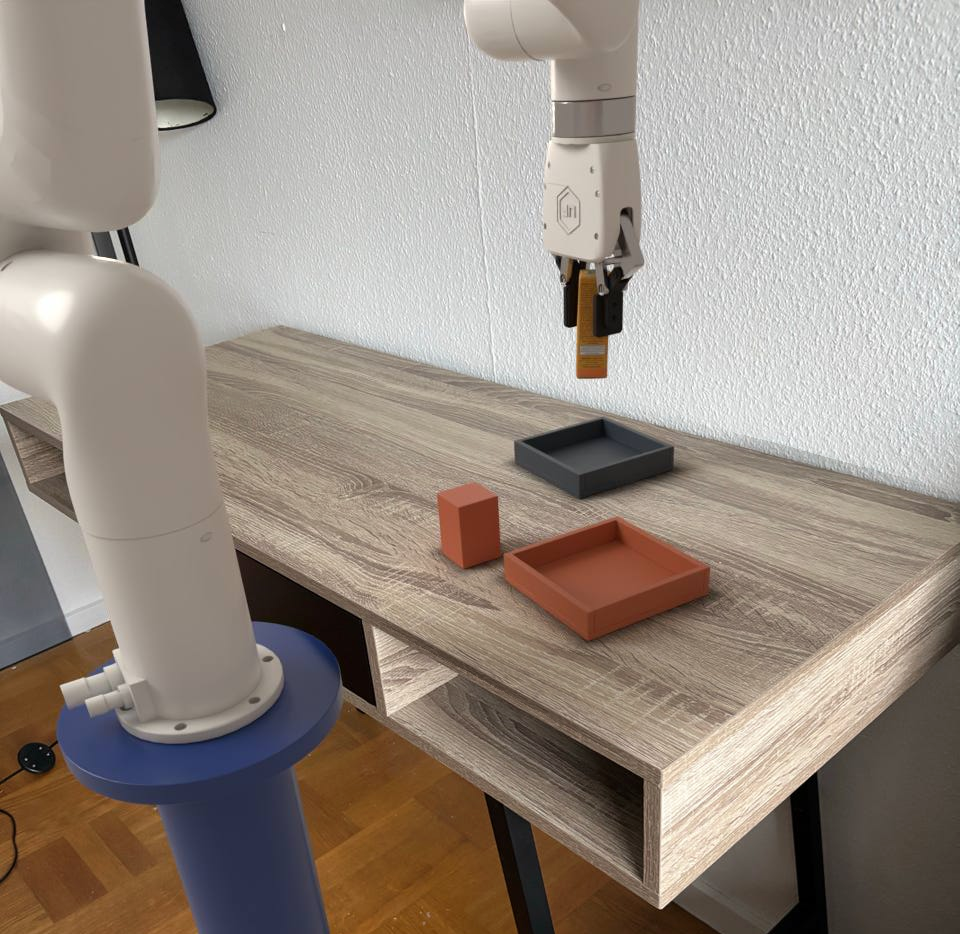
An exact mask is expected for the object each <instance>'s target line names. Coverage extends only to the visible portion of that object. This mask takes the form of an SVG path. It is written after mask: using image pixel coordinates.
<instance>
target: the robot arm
mask: <svg viewBox="0 0 960 934" xmlns="http://www.w3.org/2000/svg"><path fill="white" fill-rule="evenodd" d="M639 10H640V0H463V18H464V23H465V27H466V30H467V33H468V36H469V37H470V39H471V40H472V42H473V43H474V45H475V46H476V47H477V48H478V49H479V50H480V51H481V52H482V53H483V54H485V55H486V56H488V57H490V58H492V59H494V60H497V61H501V62H503V63H504V62H505V63H533V62H535V63H537V62H545V61H549V63H550V65H549V67H550V68H549V69H550V100H551V101H550V112H551V113H550V115H551V116H550V117H551V118H550V121H551V139H550V140H549V141H548V146H547V150H546V151H547V152H546V159H545V166H544V167H545V168H544V178H543V179H544V180H543V197H542V198H543V199H542V201H543V202H542V241H543V246H544V247H545V249H546V250H547V251H548V252H549V253H550V254H551V256H552V257H553V259H554V261H555V264H556V267H557V269H558V271H559V282H560V285H561V286H563V287H562V288H563V289H562V290H563V291H562V293H563V294H562V295H563V298H562V299H563V326H564V327H565V328H567V329H572V328H577V315H578V292H579V273H580V270H583V269H591V264H594V269H595V273H596V282H597V290H598V293H599V294H595V295H593V335H594V336H595V337H598V338H600V337H605V336H612V335H613V336H614V335H617V334H620V333H622V331H623V329H624V328H623V327H624V292H626V291H628V289H629V288H628V287H629V282H630V281H631V280H632V278H633V277H634V275H635V274H636V273H637V272H639V270H640V269H642V268H643V267H644V266H645V257H644V254H643V251H642V249H641V246H640V244H641V236H642V235H641V234H642V185H641V183H642V181H641V169H640V168H641V167H640V158H639V149H638V143H637V138H636V136H637V135H636V132H637V131H636V129H637V92H638V91H637V90H638V88H637V86H638V53H639V49H638V48H639V47H638V46H639V13H640V11H639ZM149 45H150V44H149V35H148V27H147V18H146V6H145V0H0V381H1V382H2V383H3V384H5V385H7V386H9V387H11V388H13V389H15V390H17V391H19V392H21V393H23V394H26V395H29V396H31V397H34V398H37V399H39V400H42V401H44V402H47V403H48V404H51V405H53V406H55V408H56V411H57V413H58V416H59V420H60V427H61V437H62V454H63V455H62V456H63V457H62V458H63V466H64V474H65V480H66V484H67V488H68V491H69V497H70V500H71V503H72V507H73V510H74V513H75V516H76V519H77V523H78V526H79V528H80V529H81V532H82V536H83V539H84V543H85V545H86V548H87V549H86V550H87V552H88V555H89V557H90V561H91V564H92V568H93V571H94V574H95V577H96V580H97V583H98V586H99V589H100V593H101V596H102V599H103V602H104V606H105V608H106V612H107V615H108V618H109V621H110V624H111V627H112V630H113V633H114V637H115V641H116V643H117V645H118V648H115V649H113V650H112V651H111V652H112V654H113V657H114V658H115V661H116V663H114V664H113V665H110V666H107V667H104V668H103V670H104V672H103V673H100V674H97V675H94V676H91V677H88V678H86V677H81V678H78V679H75V680H72V681H69V682H65V683H63V684H60V685H59V688H60V690H61V693H62V696H63V698H64V702H66V704H67V707H68V709H69V710H71V709H74V708H77V707H80V706H83V705H86V706H87V708H88V711H89V714H90V716H91V718H93V717H96V716H99V715H102V714H105V713H108V712H109V711H111V710H114V709H115V711H116V714H117V718H118V720H119V722H120V723H121V725H122V727H123V728H124V729H125V730H127V731H128V732H129V733H130V734H132V735H134V736H136V737H138V738H140V739H144V740H147V741H151V742H156V743H165V744H186V743H193V742H200V741H205V740H209V739H213V738H217V737H220V736H223V735H226V734H228V733H231V732H234V731H236V730H238V729H240V728H242V727H244V726H246V725H248V724H250V723H251V722H253V721H254V720H256V719H257V718H259V717H260V716H262V715H263V714H264V713H265V712H266V711H267V710H268V709H269V708H270V707H272V706H273V704H274V703H275V702H276V700H277V699H278V698H279V696H280V694H281V692H282V689H283V686H284V674H283V668H282V665H281V662H280V660H279V658H278V657H277V656H276V655H275V654H274V653H273V652H272V651H271V650H269V649H267V648H266V647H264V646H262V645H259V644H256V641H255V636H254V632H253V627H252V623H251V621H252V619H251V618H252V617H251V614H250V609H249V606H248V602H247V597H246V592H245V588H244V583H243V579H242V574H241V569H240V565H239V561H238V556H237V551H236V547H235V543H234V538H233V533H232V530H231V529H232V528H231V525H230V520H229V516H228V511H227V507H226V504H225V503H226V502H225V498H224V495H223V490H222V487H221V483H220V482H221V481H220V477H219V472H218V468H217V463H216V457H215V454H214V449H213V442H212V435H211V429H210V428H211V427H210V420H209V419H210V418H209V408H208V407H209V406H208V405H209V404H208V372H207V371H208V370H207V357H206V356H207V355H206V347H205V344H204V343H205V342H204V339H203V335H202V334H203V333H202V331H201V328H200V326H199V323H198V320H197V318H196V317H195V315H194V313H193V311H192V309H191V307H190V306H189V304H188V303H187V302H186V301H185V299H184V298H183V297H182V296H181V294H179V292H178V291H177V290H176V289H175V288H174V287H173V286H172V285H171V284H169V283H168V282H167V281H166V280H164V279H162V278H161V277H160V276H158V275H157V274H155V273H153V272H152V271H150V270H148V269H145V268H144V267H142V266H139V265H136V264H133V263H130V262H127V261H124V260H119V259H114V258H109V257H104V256H97V255H95V254H94V248H93V246H94V245H93V239H92V233H104V232H107V233H108V232H114V231H119V230H123V229H126V228H128V227H130V226H133V225H134V224H137V223H138V222H139V221H140V220H142V219H143V218H144V217H145V216H146V215H147V214H148V212H149V211H150V210H151V209H152V207H153V206H154V204H155V202H156V199H157V196H158V194H159V189H160V185H161V175H162V174H161V172H162V163H161V162H162V160H161V159H162V158H161V157H162V155H161V145H160V135H159V125H158V117H157V108H156V99H155V89H154V80H153V71H152V63H151V62H152V61H151V54H150V53H151V52H150V46H149ZM612 265H613V268H612V270H610V274H609V275H608V272H607V270H608V266H612Z"/></svg>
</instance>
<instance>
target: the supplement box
mask: <svg viewBox="0 0 960 934" xmlns="http://www.w3.org/2000/svg"><path fill="white" fill-rule="evenodd" d="M607 272H608V275H609V274H610V272H611V270H609V269H607ZM595 294H599V293H598V290H597V282H596V273H595V268H590V269H583V270H580V273H579V292H578V315H577V326H576V341H575V343H576V344H575V345H576V346H575V349H576V350H575V376H576V379H578V380H599V379H608V359H609V336H610V335H609V336H605V337H600V338H598V337H595V336H594V335H593V295H595Z"/></svg>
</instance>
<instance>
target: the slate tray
mask: <svg viewBox="0 0 960 934" xmlns="http://www.w3.org/2000/svg"><path fill="white" fill-rule="evenodd" d="M513 450H514V451H513V453H514V464H515V465H518V466H520V467H521V468H523V469H524V470H527V471H529V472H530V473H532V474H534V475H535V476H538V477H539V478H541V479H543V480H544V481H546V482H548V483H550V484H552V485H554V486H556V487H557V488H559V489H561V490H563V491H565V492H566V493H568V494H569V495H572V496H574V497H575V498H577V499H578V500H579V499H583V498H587V497H590V496H593V495H596V494H599V493H603V492H605V491H610V490H612V489H616V488H618V487H622V486H625V485H628V484H631V483H634V482H637V481H641V480H645V479H647V478H650V477H653V476H657V475H660V474H663V473H666V472H670V471H673V470H674V462H675V461H674V460H675V459H674V458H675V446H674V445H672V444H670V443H667V442H665V441H662V440H661V439H658V438H655V437H654V436H650V435H648V434H646V433H644V432H642V431H639V430H637V429H636V428H635V429H634V428H633V427H630V426H627V425H626V424H623V423H620V422H618V421H616V420H614V419H612V418H609V417H607V416H600V417H596V418H592V419H589V420H585V421H581V422H578V423H574V424H571V425H567V426H563V427H560V428H556V429H552V430H549V431H545V432H541V433H538V434H534V435H529V436H526V437H523V438H520V439H516V440H514V441H513Z"/></svg>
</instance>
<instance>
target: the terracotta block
mask: <svg viewBox="0 0 960 934" xmlns="http://www.w3.org/2000/svg"><path fill="white" fill-rule="evenodd" d="M436 500H437V508H438V509H437V511H438V521H439V522H438V523H439V532H440V543H441V544H440V545H441V553H442V554H443V555H444V556H446V557H447V558H448V559H449V560H451V561H452V562H453V563H455V564H456V565H457V566H458V567H460V568H461V569H463V570H465V569H468V568H471V567H474V566H478V565H480V564H483V563H486V562H489V561H492V560H495V559H499V558H501V557H502V546H501V545H502V544H501V528H500V527H501V526H500V525H501V524H500V511H499V510H500V509H499V508H500V507H499V496H498V495H497V494H496V493H495V492H492V491H491V490H489V489H488V488H486V487H484V486H483V485H481V484H480V483H478V482H476V481H473V482H469V483H467V484H463V485H459V486H456V487H453V488H449V489H445V490H442V491H439V492H437V493H436Z"/></svg>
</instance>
